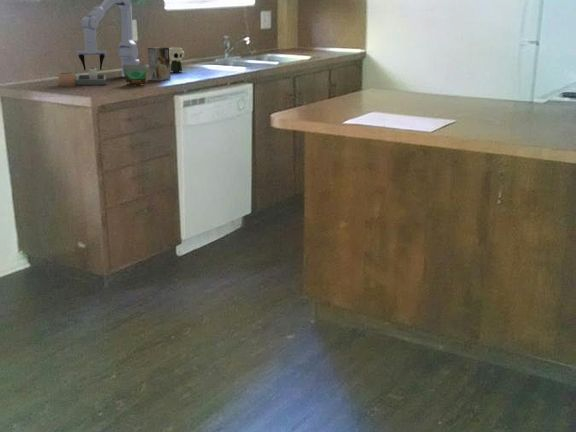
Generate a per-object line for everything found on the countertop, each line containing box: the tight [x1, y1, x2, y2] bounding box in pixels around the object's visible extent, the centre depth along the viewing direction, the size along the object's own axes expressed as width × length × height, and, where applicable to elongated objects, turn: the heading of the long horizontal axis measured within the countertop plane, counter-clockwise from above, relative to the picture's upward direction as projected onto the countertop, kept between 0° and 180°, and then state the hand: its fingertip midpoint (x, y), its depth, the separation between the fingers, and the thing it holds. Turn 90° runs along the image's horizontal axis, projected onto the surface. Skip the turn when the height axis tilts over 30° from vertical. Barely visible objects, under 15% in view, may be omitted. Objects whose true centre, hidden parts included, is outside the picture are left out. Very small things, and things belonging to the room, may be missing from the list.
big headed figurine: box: [168, 47, 185, 73], centre depth 406 cm, size 11×7×13 cm, turn 129°
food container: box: [121, 63, 149, 86], centre depth 355 cm, size 12×6×10 cm, turn 117°
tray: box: [76, 74, 107, 86], centre depth 365 cm, size 14×20×2 cm
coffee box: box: [147, 46, 171, 81], centre depth 375 cm, size 9×6×16 cm
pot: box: [57, 71, 77, 87], centre depth 353 cm, size 8×8×6 cm
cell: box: [88, 66, 98, 80], centre depth 366 cm, size 4×4×7 cm
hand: (92, 69), depth 365 cm, fingers open, 7 cm apart
